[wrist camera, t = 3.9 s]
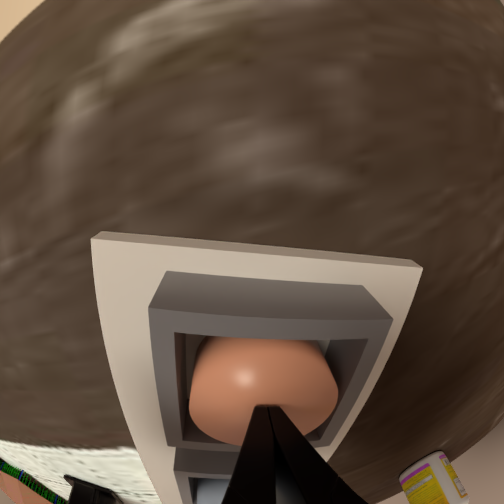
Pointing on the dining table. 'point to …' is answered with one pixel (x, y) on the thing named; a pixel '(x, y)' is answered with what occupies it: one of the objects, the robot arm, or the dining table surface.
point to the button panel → (235, 333)
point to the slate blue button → (211, 490)
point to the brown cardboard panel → (22, 488)
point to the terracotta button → (259, 384)
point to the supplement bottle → (433, 482)
